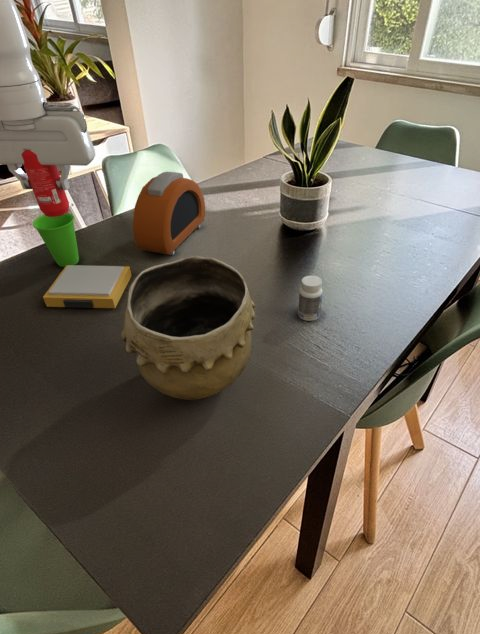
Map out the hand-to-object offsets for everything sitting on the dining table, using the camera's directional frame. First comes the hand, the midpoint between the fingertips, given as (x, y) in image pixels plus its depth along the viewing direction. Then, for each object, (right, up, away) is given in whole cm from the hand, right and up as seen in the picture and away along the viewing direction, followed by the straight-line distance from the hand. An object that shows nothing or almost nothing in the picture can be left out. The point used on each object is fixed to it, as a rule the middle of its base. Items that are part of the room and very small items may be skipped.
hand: (46, 188), depth 77 cm
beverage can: (0, -3, +4) cm, 5 cm away
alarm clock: (+15, +1, +37) cm, 40 cm away
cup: (-9, -8, +29) cm, 31 cm away
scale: (0, -16, +19) cm, 25 cm away
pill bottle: (+49, -22, +12) cm, 55 cm away
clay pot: (+28, -35, -2) cm, 45 cm away
